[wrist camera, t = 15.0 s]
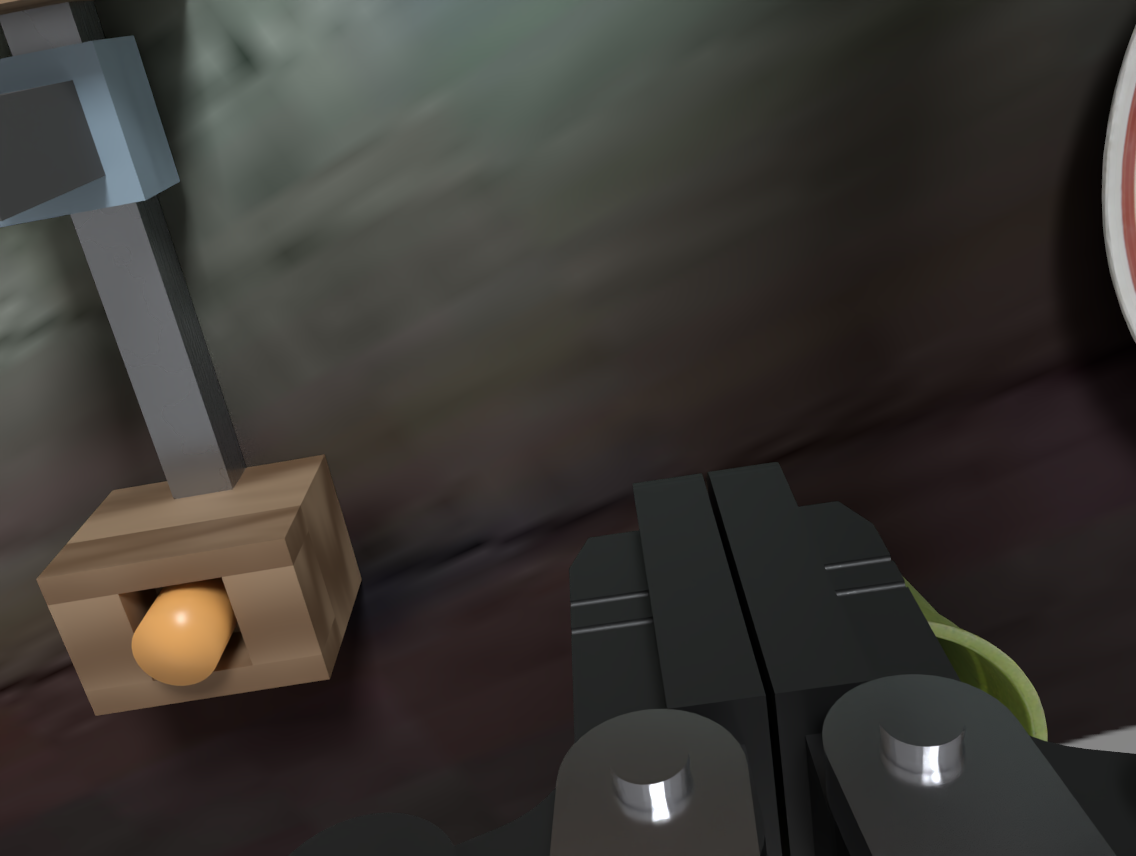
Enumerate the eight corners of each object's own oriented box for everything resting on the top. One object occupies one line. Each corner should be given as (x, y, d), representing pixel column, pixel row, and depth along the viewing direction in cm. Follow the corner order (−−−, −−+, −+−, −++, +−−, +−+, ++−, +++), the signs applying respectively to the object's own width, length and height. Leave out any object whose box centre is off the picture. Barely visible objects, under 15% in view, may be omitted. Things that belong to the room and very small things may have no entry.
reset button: (154, 569, 40) (119, 621, 36) (232, 556, 39) (203, 607, 36) (180, 635, 41) (148, 691, 37) (255, 623, 41) (229, 678, 37)
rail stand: (-115, -96, 35) (-266, -112, 29) (146, -149, 34) (53, -179, 28) (160, 612, 46) (95, 715, 39) (361, 579, 45) (330, 678, 39)
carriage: (-7, 62, 36) (-211, 92, 26) (133, 35, 36) (-22, 56, 26) (47, 206, 38) (-126, 283, 28) (180, 181, 38) (52, 251, 28)
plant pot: (606, 599, 46) (622, 780, 36) (807, 412, 43) (890, 551, 32) (791, 744, 49) (855, 949, 39) (992, 581, 46) (1120, 757, 35)
